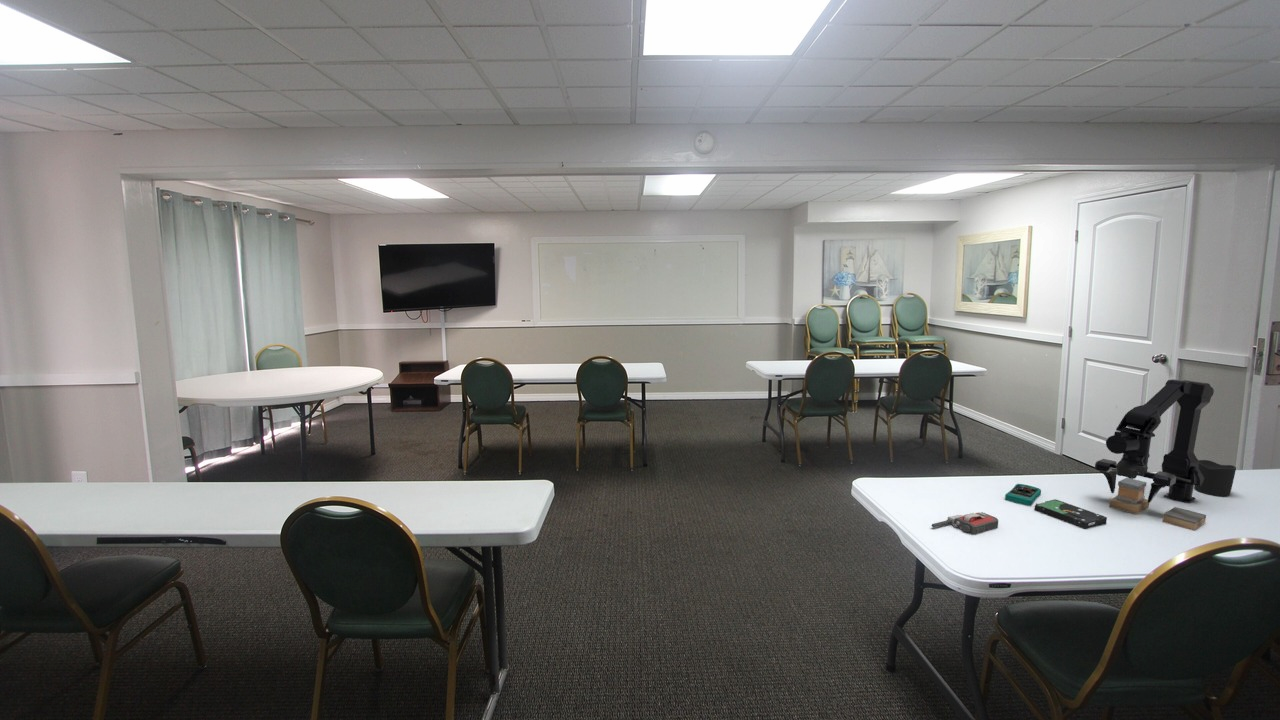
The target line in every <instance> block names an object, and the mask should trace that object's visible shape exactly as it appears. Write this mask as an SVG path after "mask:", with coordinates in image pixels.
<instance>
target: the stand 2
mask: <svg viewBox="0 0 1280 720" xmlns="http://www.w3.org/2000/svg"><path fill="white" fill-rule="evenodd" d="M1206 520H1207V514H1203V513H1201V512H1196V511H1193V510H1189V509H1185V508H1182V507H1177V506H1174V507H1173V508H1171V509H1170V510H1168V511H1166V512H1164V513H1163V517H1162V523H1165V524H1169V525H1174V526H1177V527H1180V528H1184V529H1187V530H1191V531H1195V530H1197V529H1199V528H1200V527H1201V526H1202V525H1204V524H1206Z"/></svg>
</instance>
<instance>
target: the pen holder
mask: <svg viewBox="0 0 1280 720" xmlns="http://www.w3.org/2000/svg"><path fill="white" fill-rule="evenodd" d="M1198 461H1199V470H1200V472H1201V473H1202V475H1203V477H1204V481H1203V483H1202V484H1201V486H1199V485H1194V487H1193V489H1195V491H1197V492H1198V493H1202V494H1205V495H1209V496H1214V497H1215V496H1216V497H1221V498H1222V497H1229V496H1231V492H1232V488H1233V483H1234V480H1235V475H1236V471H1237V467H1236V466H1235V465H1232V464H1220V463H1217V462H1215V461H1212V460H1207V459H1200V460H1199V459H1198Z"/></svg>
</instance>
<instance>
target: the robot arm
mask: <svg viewBox="0 0 1280 720" xmlns="http://www.w3.org/2000/svg"><path fill="white" fill-rule="evenodd" d="M1214 392H1215V390H1214V388H1213V387H1212V386H1211V384H1210V383H1207V382H1201V381H1194V380H1186V379H1183V380H1180V379H1168V380H1166V382H1165V384H1164V386H1163V387H1162V388H1161V389H1160V390H1159V391H1158V392H1156V394H1154V395H1153V396H1152V397H1151V398H1150V399H1149V400H1148V401H1147V402H1146V403H1144V404H1141V405H1137V406H1135V407H1133V408H1131V409H1130V410H1128V411H1127V412H1126V413H1125V415H1123V417H1122V419H1121V420H1120V422H1119V424H1118V426H1117V427H1116V429H1115V430H1116V431H1114V434H1113V435H1111V436H1108V438H1106V440H1105V446H1106V448H1107V450H1108V451H1110V453H1112V454H1115V455H1117V454H1118V455H1120V454H1122V457H1121V459H1120V460H1119V461H1118V462H1117V461H1116V460H1110V459H1107V458H1102V459H1100V460H1097V461H1095V464H1094V470H1097V471H1098V472H1099V473H1100V474H1103V475H1104V477H1105V478H1106V480H1107V483H1108V487H1109V491H1110V493H1111V494H1114V493H1115V490H1116V482H1117V476H1118V477H1119V476H1120V477H1125V478H1131V479H1135V480H1136V478H1137V476H1138V477H1142V478H1147V479H1151V480H1152V482H1151V483H1150V490H1149V494H1148V497H1147V500H1148V503H1150V504H1151V502H1152V500H1153V499H1154V498H1155V496H1156V495H1157V494H1158V492H1159V491H1160V490H1161V489H1162V488H1166V487H1168V492H1166V493H1165V494H1163V497H1164V498H1168V499H1172V500H1177V501H1180V502H1185V503H1189V504H1190V503H1192V502H1194V501H1195V500H1196V497H1194V496H1193V493H1194V485H1199V486H1201V484H1202V483H1203V481H1204V477H1203V475H1202V473H1201V472H1200V470H1199V461H1198V460H1199V459H1198V458H1197V456H1196V455H1195V446H1196V440H1197V435H1198V429H1199V425H1200V424H1199V423H1200V418H1201V413H1202V409H1204V408H1206V406H1207V405H1208V404H1210V402H1211V399H1212V397H1213V395H1214ZM1176 402H1177V404H1178V405H1179V413H1178V419H1177V424H1176V430H1175V437H1174V443H1173V448H1172V450H1171V451H1169V452H1168V453H1165V454H1164V455H1163V460H1162V463H1161V471H1157V472H1156V473H1154V472H1150V471H1148V469H1149V466H1148V462H1149V458H1150V456H1151V455H1150V449H1151V441H1152V438H1154V437H1156V434H1155V433H1154V432H1155V430H1157V428H1159V425H1160V424H1161V423H1162V420H1161V419H1162V415H1163V414H1164V413H1165V412H1166V411H1167V410H1168V409H1170V408H1171V407H1172V406H1173V405H1174V404H1175V403H1176Z"/></svg>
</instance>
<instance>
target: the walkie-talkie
mask: <svg viewBox="0 0 1280 720" xmlns="http://www.w3.org/2000/svg"><path fill="white" fill-rule="evenodd" d="M945 525H951V526H952V527H954V528H957V529H960V530H961V531H964V532H965V533H967V534H968V533H969V534H970V535H972V536H973V535H976V536H977V535H979V534H982V533H987V532H989V531H993V530H996V529H998V528H999V519H998V518H997V516H992V515H991V514H988V513H986V512H983V511H981V512H980V511H978V512H975V513H974V512H970V513H967V514H964V515H963V514H956V515H952V516H947V519H946V520H942V521H939V522H938V521H937V522H934V523H931V527H932V528H937V527H941V526H945Z"/></svg>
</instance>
